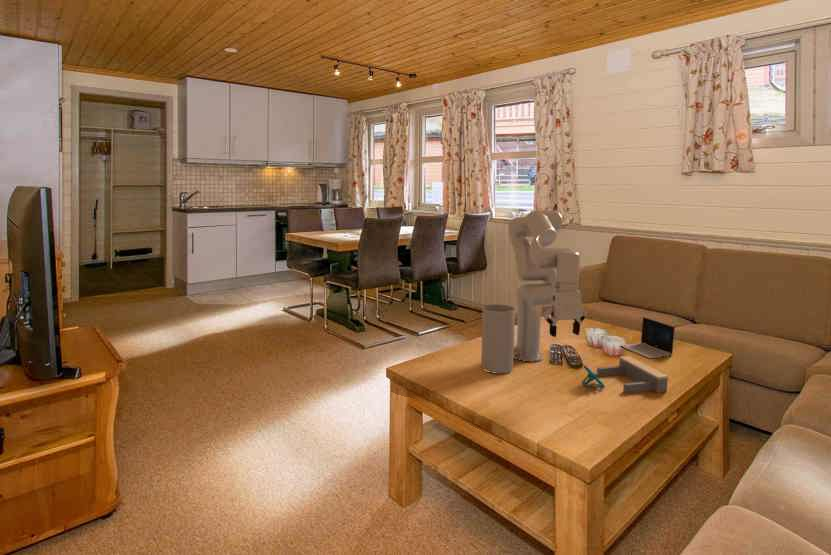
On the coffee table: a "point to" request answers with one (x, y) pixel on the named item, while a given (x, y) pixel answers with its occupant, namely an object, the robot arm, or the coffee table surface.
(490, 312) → the cylinder vase
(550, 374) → the coffee table surface
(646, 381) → the gear bay
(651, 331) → the laptop
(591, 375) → the gear
